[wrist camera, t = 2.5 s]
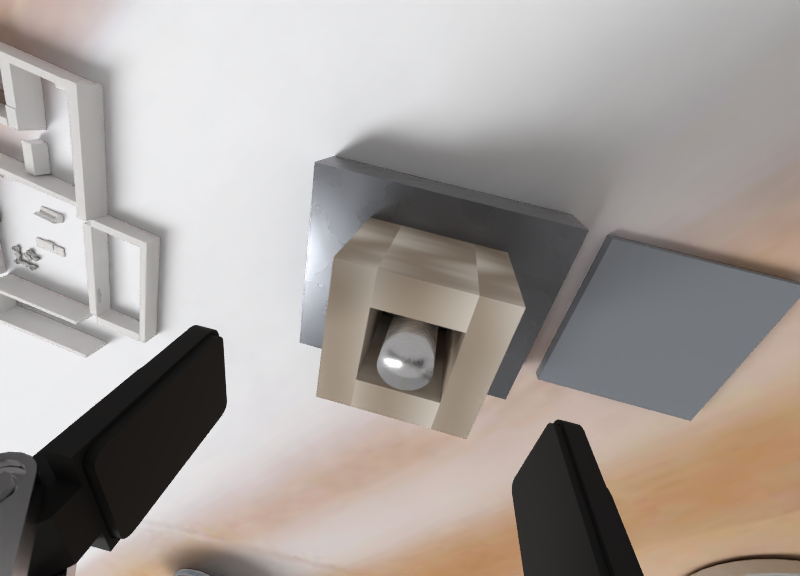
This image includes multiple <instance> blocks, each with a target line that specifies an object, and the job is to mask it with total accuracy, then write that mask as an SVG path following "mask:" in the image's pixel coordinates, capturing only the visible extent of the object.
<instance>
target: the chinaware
mask: <svg viewBox="0 0 800 576" xmlns="http://www.w3.org/2000/svg"><path fill="white" fill-rule="evenodd" d="M174 576H210V575H208V574H206V573H204V572H201V571H198V570H194V569H181V570H179V571H177V572H176V574H175V575H174Z"/></svg>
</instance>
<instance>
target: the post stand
mask: <svg viewBox="0 0 800 576" xmlns="http://www.w3.org/2000/svg"><path fill="white" fill-rule="evenodd" d="M369 218H374V219H378V220H382V221H386V222H390V223H394V224H398V225H402V226H406V227H410V228H414V229H418V230H421V231H425V232H429V233H433V234H437V235H441V236H445V237H449V238H453V239H457V240H461V241H465V242H469V243H472V244H476V245H480V246H484V247H488V248H492V249H496V250H500V251H504V252H508V255H509V258H510V261H511V264H512V267H513V270H514V273H515V276H516V279H517V282H518V285H519V289H520V292H521V295H522V298H523V301H524V304H525V307H526V308H525V311H524V313H523V315H522V317H521V319H520V322H519V324H518V326H517V328H516V331H515V333H514V335H513V337H512V339H511V342H510V344H509V346H508V348H507V351H506V353H505V355H504V357H503V359H502V362H501V364H500V366H499V368H498V371H497V373H496V375H495V377H494V379H493V382H492V384H491V386H490V388H489V391H488V393H487V394H488V395H491V396H495V397H499V398H502V399H506V397H507V395H508V393H509V391H510V389H511V387H512V385H513V383H514V381H515V379H516V377H517V375H518V373H519V371H520V369H521V367H522V365H523V363H524V361H525V359H526V357H527V355H528V353H529V350H530V348H531V346H532V344H533V342H534V340H535V338H536V336H537V334H538V332H539V330H540V328H541V326H542V324H543V322H544V320H545V318H546V316H547V314H548V312H549V310H550V308H551V306H552V304H553V302H554V300H555V298H556V295H557V293H558V291H559V289H560V287H561V285H562V283H563V281H564V279H565V277H566V275H567V273H568V271H569V269H570V267H571V265H572V263H573V261H574V259H575V257H576V255H577V253H578V251H579V249H580V247H581V245H582V243H583V240H584V238H585V236H586V234H587V232H588V229H587V228H586V227H585V226H583V225H582V224H581V223H580V222H579V221H578V220H577V219H576V218H575V217H574V216H573V215H570V214H566V213H562V212H558V211H554V210H550V209H546V208H542V207H538V206H534V205H530V204H526V203H522V202H518V201H514V200H510V199H506V198H501V197H497V196H493V195H489V194H485V193H481V192H477V191H473V190H469V189H465V188H461V187H457V186H453V185H449V184H445V183H441V182H437V181H433V180H429V179H425V178H420V177H416V176H412V175H408V174H404V173H400V172H396V171H392V170H388V169H384V168H380V167H376V166H372V165H368V164H364V163H360V162H356V161H352V160H348V159H344V158H340V157H335V156H333V157H329V158H326V159H323V160H320V161H317V162H315V166H314V178H313V190H312V202H311V214H310V226H309V237H308V249H307V261H306V273H305V285H304V297H303V309H302V321H301V333H300V343H303V344H307V345H311V346H314V347H318V348H321V349H322V345H323V337H324V329H325V321H326V313H327V305H328V297H329V289H330V281H331V273H332V265H333V257H334V256H335V255H336V254H337V253H338V252H339V251H340V250H341V249H342V247H343V246H344V245H345V244H346V243H347V242H348V241H349V240H350V239H351V238H352V236H353V235H354V234H355V233H356V232H357V231H358V230H359V229H360V228H361V227H362V226H363V224H364V223H365V222H366V221H367V220H368V219H369ZM383 315H386V316H390V317H392V320H391V323H390V326H389V329H388V331H387V334H386V337H385V340H384V343H383V346H382V349H381V351H380V354H379V357H378V360H377V370H378V373H379V375H380V376H381V378H382V379H383V380H384V381H385V382H386V383H387V384H389V385H390V386H392V387H394V388H397V389H401V390H416V389H420V388H422V387H424V386H425V385H426V384H428V383H429V381H430V380H431V378H432V375H433V369H434V360H435V352H436V343H437V335H438V330H442V331H446V330H447V328H445V327H442V326H438V325H434V324H430V323H427V322H423V321H419V320H415V319H412V318H408V317H404V316H401V315H397V314H393V313H389V312H386V311H383Z"/></svg>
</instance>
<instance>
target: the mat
mask: <svg viewBox="0 0 800 576" xmlns="http://www.w3.org/2000/svg"><path fill="white" fill-rule="evenodd" d="M799 298H800V283H799V282H796V281H792V280H788V279H784V278H780V277H776V276H772V275H768V274H764V273H760V272H756V271H752V270H748V269H744V268H740V267H736V266H732V265H728V264H724V263H720V262H715V261H711V260H707V259H703V258H699V257H695V256H691V255H687V254H683V253H679V252H675V251H671V250H667V249H663V248H659V247H655V246H651V245H647V244H643V243H639V242H635V241H631V240H627V239H623V238H619V237H615V236H611V235H608V236H607V238H606V240H605V242H604V244H603V246H602V247H601V249H600V251H599V253H598V255H597V257H596V259H595V261H594V263H593V265H592V267H591V268H590V270H589V272H588V274H587V276H586V278H585V280H584V282H583V284H582V286H581V288H580V290H579V291H578V293H577V295H576V297H575V299H574V301H573V303H572V305H571V307H570V309H569V311H568V312H567V314H566V316H565V318H564V320H563V322H562V324H561V326H560V328H559V330H558V332H557V334H556V335H555V337H554V339H553V341H552V343H551V345H550V347H549V349H548V351H547V353H546V355H545V356H544V358H543V360H542V362H541V364H540V366H539V368H538V370H537V372H536V374H537V378H538V379H539V380H543V381H546V382H550V383H554V384H557V385H561V386H565V387H568V388H572V389H576V390H579V391H583V392H587V393H590V394H594V395H598V396H601V397H605V398H609V399H612V400H616V401H620V402H623V403H627V404H631V405H634V406H638V407H642V408H646V409H649V410H653V411H657V412H660V413H664V414H668V415H671V416H675V417H679V418H682V419H686V420H690V421H691V420H692V419H693V418H694V417H695V415H696V414H697V413H698V412H699V411H700V410H701V409H702V408H703V406H704V405H705V404H706V403H707V402H708V401H709V400H710V398H711V397H712V396H713V395H714V394H715V393H716V392H717V391H718V389H719V388H720V387H721V386H722V385H723V384H724V383H725V382H726V380H727V379H728V378H729V377H730V376H731V375H732V374H733V372H734V371H735V370H736V369H737V368H738V367H739V366H740V365H741V363H742V362H743V361H744V360H745V359H746V358H747V357H748V356H749V354H750V353H751V352H752V351H753V350H754V349H755V348H756V347H757V345H758V344H759V343H760V342H761V341H762V340H763V339H764V337H765V336H766V335H767V334H768V333H769V332H770V331H771V330H772V328H773V327H774V326H775V325H776V324H777V323H778V322H779V321H780V319H781V318H782V317H783V316H784V315H785V314H786V313H787V312H788V310H789V309H790V308H791V307H792V306H793V305H794V304H795V302H796V301H797V300H798V299H799Z"/></svg>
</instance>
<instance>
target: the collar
mask: <svg viewBox="0 0 800 576" xmlns="http://www.w3.org/2000/svg"><path fill="white" fill-rule="evenodd" d="M525 308H526V307H525V304H524V301H523V298H522V295H521V292H520V289H519V285H518V282H517V279H516V276H515V273H514V270H513V267H512V264H511V261H510V258H509V255H508V252H504V251H500V250H496V249H492V248H488V247H484V246H480V245H476V244H472V243H469V242H465V241H461V240H457V239H453V238H449V237H445V236H441V235H437V234H433V233H429V232H425V231H421V230H418V229H414V228H410V227H406V226H402V225H398V224H394V223H390V222H386V221H382V220H378V219H374V218H369V219H368V220H367V221H366V222H365V223H364V224H363V226H362V227H361V228H360V229H359V230H358V231H357V232H356V233H355V234H354V235H353V236H352V238H351V239H350V240H349V241H348V242H347V243H346V244H345V245H344V246H343V247H342V249H341V250H340V251H339V252H338V253H337V254H336V255H335V256H334V257H333V265H332V273H331V281H330V289H329V297H328V305H327V313H326V321H325V329H324V337H323V345H322V353H321V361H320V369H319V377H318V385H317V393H316V397H320V398H323V399H327V400H331V401H334V402H338V403H341V404H345V405H348V406H352V407H355V408H359V409H362V410H366V411H369V412H373V413H376V414H380V415H383V416H387V417H390V418H394V419H397V420H401V421H404V422H408V423H412V424H415V425H419V426H422V427H426V428H429V429H433V430H436V431H440V432H443V433H447V434H450V435H454V436H457V437H461V438H464V439H467V437H468V435H469V433H470V430H471V428H472V426H473V424H474V422H475V419H476V417H477V415H478V413H479V411H480V408H481V406H482V404H483V402H484V399H485V397H486V395H487V393H488V391H489V388H490V386H491V384H492V382H493V379H494V377H495V375H496V373H497V371H498V368H499V366H500V364H501V362H502V359H503V357H504V355H505V353H506V351H507V348H508V346H509V344H510V342H511V339H512V337H513V335H514V333H515V331H516V328H517V326H518V324H519V322H520V319H521V317H522V315H523V313H524V311H525ZM383 311H386V312H389V313H393V314H397V315H401V316H404V317H408V318H412V319H415V320H419V321H423V322H427V323H430V324H434V325H438V326H442V327H445V328H447V330H446V331H442V330H438V335H437V343H436V352H435V360H434V369H433V375H432V378H431V380H430V381H429V383H428V384H426V385H425V386H424V387H422V388H420V389H416V390H401V389H397V388H394V387H392V386H390V385H389V384H387V383H386V382H385V381H384V380H383V379H382V378H381V376H380V375H379V373H378V370H377V360H378V357H379V354H380V351H381V349H382V346H383V343H384V340H385V337H386V334H387V331H388V329H389V326H390V323H391V320H392V317H390V316H386V315H383Z"/></svg>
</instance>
